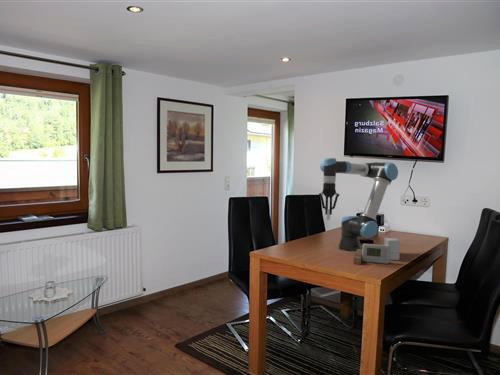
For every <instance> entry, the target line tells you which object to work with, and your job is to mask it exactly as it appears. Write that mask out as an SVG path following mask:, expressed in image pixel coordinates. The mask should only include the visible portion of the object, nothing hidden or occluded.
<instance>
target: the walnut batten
mask: <svg viewBox="0 0 500 375" xmlns="http://www.w3.org/2000/svg"><path fill="white" fill-rule="evenodd" d="M362 262H363V261H362V248H361V249H357V251H355V253H354V257H353V265H360V266H361V265H362Z"/></svg>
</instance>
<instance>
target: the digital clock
mask: <svg viewBox="0 0 500 375" xmlns="http://www.w3.org/2000/svg"><path fill="white" fill-rule="evenodd" d="M361 246H362V247H361V249H362V261H361V262H365V263H366V262H367V263H370V264H371V263H372V264H381V265H383V264H385V265H389V263H390V260H389V252H390V247H389V246H385V245H384V244H377V243H375V244H373V243H363V244H362V245H361Z"/></svg>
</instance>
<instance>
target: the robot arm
mask: <svg viewBox="0 0 500 375" xmlns="http://www.w3.org/2000/svg"><path fill="white" fill-rule="evenodd" d="M319 166H320V168H319V169H320V170H321V172H323V184H322V187H323V188H322V191H321V192H320V193H318V196H319V198H320V202H321V207H322V209H324V211H325V213H324V214H325V216H326V221H330V220H331V215H332V214H333V210H334V209H336V205H337V201H338V198H339V196H340V193H338V192H337V191H336V180H337V178H336V177H337V174H346V175H347V174H348V175H358V176H361V177H365V178H370V179H373V180H374V184H373V186H372V188H371V190H370V191H371V192H370V194H369V197H368V200H367V202H366V205H365V207H364V209H363V213H361V214H359V215H346V216H345V215H344V216H342V218H341V224H340V225H341V237H340V240H339V242H338V249H340V250H343V251H351V252H353V251H355V252H356V251H357V249H362V247H361V246H362V245H361V242H360V240H359V237H362V238H363V239H364V238H365V239H371V238H374V237H375V236H376V235H377V233H378V230H379V226H378V220H377V215H378V213H379V210H380V207H381V204H382V201H383V199H384V196H385V194H386V190H387V187H388V186H390V185H391V184H392V181H395V180H396V179H397V178H398V175H399V169H398V167H397V165H396V164H395V163H393V162H388V161H387V162H379V161H376V162H362V163H354V162H353V163H352V162H350V161H346V160H344V161H343V160H341V161H339V160H337V158H336V157H334V158H333V157H325V158H324V160H323V161H322V162H321V163H320V165H319ZM334 196H335V198H334V200H333V197H334ZM324 197H325V199H324ZM324 200H325V201H324Z"/></svg>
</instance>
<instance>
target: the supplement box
mask: <svg viewBox="0 0 500 375" xmlns="http://www.w3.org/2000/svg"><path fill="white" fill-rule="evenodd" d="M383 242H384V244H383V245H385V246H389V247H390V252H389V261H400V255H401V254H400V250H401V244H400V243H401V240H400V239H398V238H396V237H384V241H383Z"/></svg>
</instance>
